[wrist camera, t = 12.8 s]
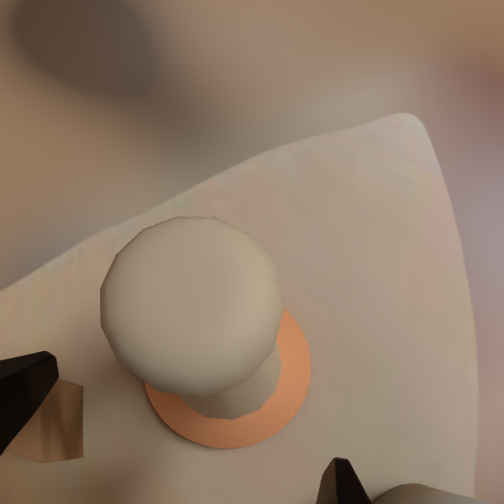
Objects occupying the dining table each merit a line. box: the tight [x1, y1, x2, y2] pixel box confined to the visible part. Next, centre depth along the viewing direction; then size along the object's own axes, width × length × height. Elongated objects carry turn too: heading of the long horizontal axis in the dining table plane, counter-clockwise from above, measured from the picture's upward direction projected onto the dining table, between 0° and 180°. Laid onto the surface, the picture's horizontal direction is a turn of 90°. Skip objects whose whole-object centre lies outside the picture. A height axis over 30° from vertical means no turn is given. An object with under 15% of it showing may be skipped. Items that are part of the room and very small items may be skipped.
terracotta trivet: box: [144, 309, 311, 448], centre depth 18 cm, size 10×10×1 cm
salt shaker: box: [100, 217, 284, 420], centre depth 12 cm, size 6×6×13 cm
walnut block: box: [5, 380, 84, 463], centre depth 14 cm, size 5×5×5 cm
